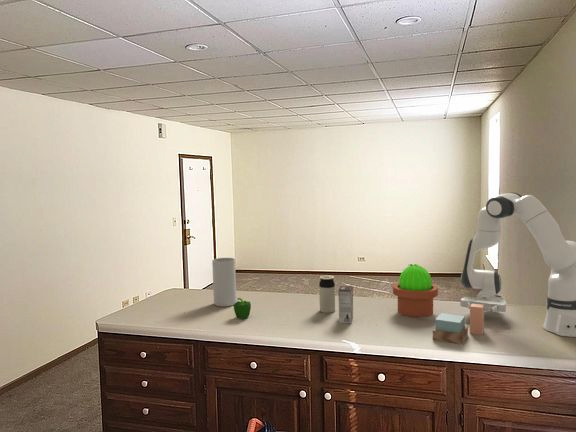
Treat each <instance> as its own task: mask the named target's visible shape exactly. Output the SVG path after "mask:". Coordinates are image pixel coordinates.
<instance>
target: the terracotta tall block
mask: <svg viewBox="0 0 576 432" xmlns="http://www.w3.org/2000/svg"><path fill="white" fill-rule="evenodd" d="M484 325H485V311H484V305H481V304H471V306H470V309H469V334H475V335H481V336H482V335H483V334H484V332H485V329H484V327H485V326H484Z"/></svg>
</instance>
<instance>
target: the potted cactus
mask: <svg viewBox="0 0 576 432" xmlns="http://www.w3.org/2000/svg"><path fill="white" fill-rule="evenodd" d="M404 268H405V267H404ZM392 293H393V295H394V296H396V297H397V312H398V314H399V315H402V316H405V317H410V318H427V317H430V316H432V315H433V314H434V298H437V297H438V295H439V286H438V285H437V284H435V283H433V282H432V277H431V274H430V273H429V271H428V270H427V269H426V268H425V267H424V266H421V265H419V264H412V263H410V264H409V265H408V266H407V267H406V268H405V269H402V271H401V273H400V275H399V278H398V282H395V283H394V284H393V285H392Z"/></svg>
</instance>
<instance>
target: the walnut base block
mask: <svg viewBox="0 0 576 432" xmlns="http://www.w3.org/2000/svg"><path fill="white" fill-rule="evenodd" d="M468 332H469V327H468V326H467V325H465V327H464V328H463V330H462V331H461V332H460V333H454V332H447V331H440V330H435V327H434V328H433V329H432V340H433V341H439V342H445V343H451V344H457V345H464V343H465V340H466V339H467V338H468V336H469V333H468Z"/></svg>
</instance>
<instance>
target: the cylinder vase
mask: <svg viewBox="0 0 576 432" xmlns="http://www.w3.org/2000/svg"><path fill="white" fill-rule="evenodd" d="M211 260H212V261H211V262H212V266H211V267H212V287H213V289H212V291H213V304H214V306H216V307H222V308H224V307H232V306H234V304H235V303H236V302H237V280H236V259H235V258H234V257H218V258H213V259H211Z"/></svg>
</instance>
